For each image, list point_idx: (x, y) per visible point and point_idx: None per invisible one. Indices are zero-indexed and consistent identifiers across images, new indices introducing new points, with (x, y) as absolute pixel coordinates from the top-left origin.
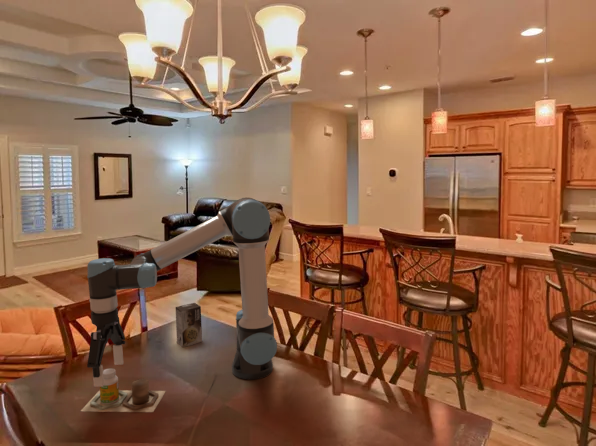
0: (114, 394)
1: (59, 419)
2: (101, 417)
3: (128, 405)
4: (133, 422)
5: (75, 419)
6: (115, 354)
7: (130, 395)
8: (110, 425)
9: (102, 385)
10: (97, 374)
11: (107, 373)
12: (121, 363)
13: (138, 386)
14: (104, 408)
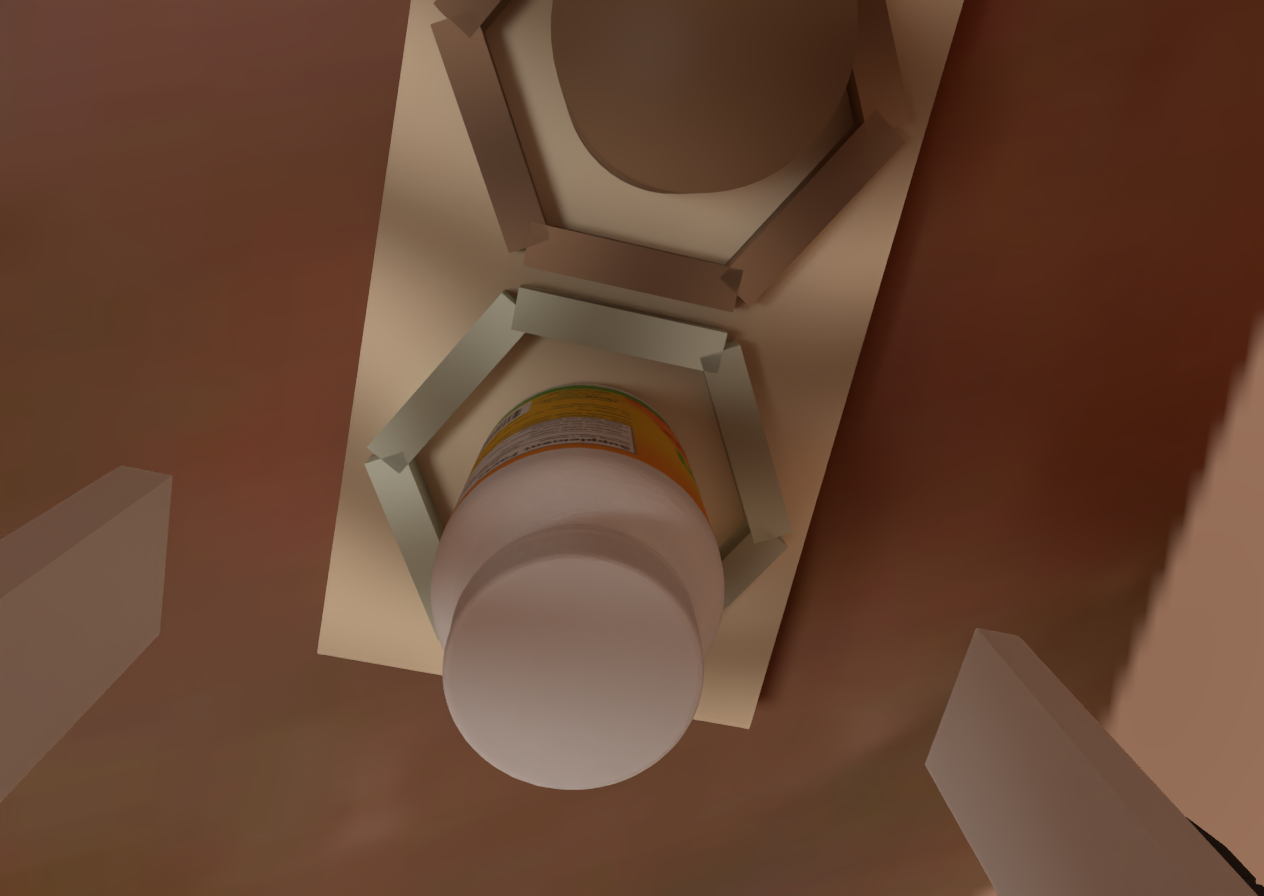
0: (668, 439)
1: (753, 855)
2: (820, 496)
3: (823, 219)
4: (1023, 124)
5: (790, 726)
6: (21, 736)
7: (567, 238)
8: (1001, 371)
9: (1028, 651)
10: (1246, 882)
11: (672, 676)
12: (157, 504)
13: (841, 42)
14: (781, 500)
